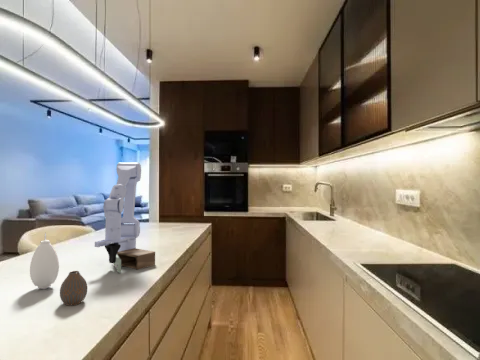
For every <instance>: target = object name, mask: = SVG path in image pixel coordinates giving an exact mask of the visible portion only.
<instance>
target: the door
mask: <svg viewBox="0 0 480 360" xmlns="http://www.w3.org/2000/svg"><path fill="white" fill-rule="evenodd" d="M113 266H114V267H115V268H114V269H115V270H116V271H117V273H119V274H120V273H121V272H122V266H121V259H120V258H119V257H118V255H116V262H115V263H113Z"/></svg>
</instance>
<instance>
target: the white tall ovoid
mask: <svg viewBox="0 0 480 360" xmlns="http://www.w3.org/2000/svg"><path fill="white" fill-rule="evenodd" d="M43 238H44V239H43V240H41V241H40V243H39V245H38V246H37V247H36V249H35V251H34V252H33V255H32V257H31V260H30V265H29V276H30V280H31V282H32V284H33V285H34V286H35V287H37V288H38V289H41V290H45V289H48V288H49V287H51V286H52V284H54V283H55V282H56V281H57V278H58V275H59V271H60V269H59V268H60V263H59V257H58V254H57V253H58V252H57V251H56V250H55V248H54V246H53V245H52V244H51V240H49V239H47V233H46V232H45V233H44V237H43Z"/></svg>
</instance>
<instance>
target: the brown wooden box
mask: <svg viewBox="0 0 480 360" xmlns="http://www.w3.org/2000/svg"><path fill="white" fill-rule="evenodd" d="M117 255H118V257H119V258H120V259H121V267H126V268H131V269H136V270H139V271H140V270H141V269H145V268H148V267H152V266H155V265H156V251H153V250H147V249H142V248H137V247H136V248H133V249H128V250H124V251H119V252H117Z"/></svg>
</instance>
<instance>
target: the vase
mask: <svg viewBox="0 0 480 360" xmlns="http://www.w3.org/2000/svg"><path fill="white" fill-rule="evenodd" d="M87 283H88V282H87V281H86V278H84V277H83V275H82V274H81V273H80V271H79V270H73V271H69V272H68V275H67V276H66V277H65V278H64V280H63V281H62V282H61V286H60V288H59V297H60V300H61V303H63V304H65V305H66V306H76V305H79V304H81V303H82V302H83V301H84V300H85V298H86V296H87V294H88V284H87Z"/></svg>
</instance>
